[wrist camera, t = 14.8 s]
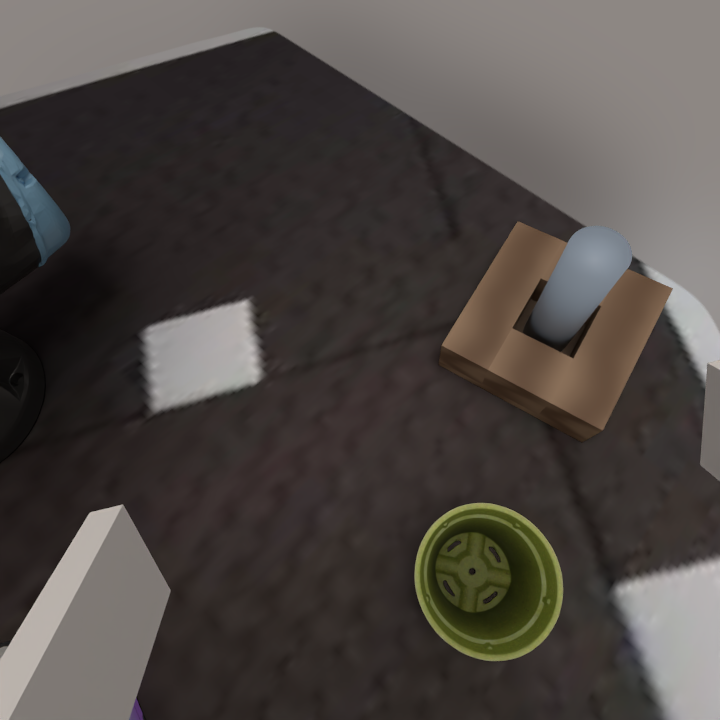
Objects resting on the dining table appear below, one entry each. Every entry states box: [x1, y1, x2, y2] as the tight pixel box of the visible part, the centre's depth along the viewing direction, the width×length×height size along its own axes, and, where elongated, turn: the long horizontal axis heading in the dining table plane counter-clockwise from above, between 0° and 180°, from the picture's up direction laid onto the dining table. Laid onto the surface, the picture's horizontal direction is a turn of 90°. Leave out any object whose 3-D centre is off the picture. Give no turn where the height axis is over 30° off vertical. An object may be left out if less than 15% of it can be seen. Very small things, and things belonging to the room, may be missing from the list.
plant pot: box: [414, 503, 563, 661], centre depth 36 cm, size 9×9×9 cm
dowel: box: [523, 226, 632, 352], centre depth 39 cm, size 4×4×14 cm
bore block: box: [439, 222, 672, 442], centre depth 44 cm, size 14×14×5 cm
